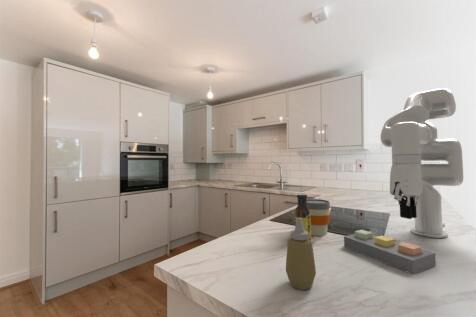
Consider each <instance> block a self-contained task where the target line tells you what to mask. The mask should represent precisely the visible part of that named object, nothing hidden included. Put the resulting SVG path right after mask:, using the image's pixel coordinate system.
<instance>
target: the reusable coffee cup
mask: <svg viewBox="0 0 476 317" xmlns="http://www.w3.org/2000/svg"><path fill="white" fill-rule="evenodd" d="M330 204H331V203H330V200H326V199H320V198H307V206H308V209H309V211H310V219H311V236H315V237H324V236H326V235H328V225H329V224H330V217H331V214H330V209H331V205H330Z"/></svg>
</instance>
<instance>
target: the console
mask: <svg viewBox="0 0 476 317" xmlns="http://www.w3.org/2000/svg"><path fill="white" fill-rule="evenodd" d="M378 236H379V235H375V234H373V238H372V239H368V240H363V239H360V238H357V237H355V233H353V234H349V235H344V236H343V247H344V248H347V249H349V250H351V251H354V252H356V253H359V254H361V255H364V256H367V257H370V258H372V259H374V260H376V261H379V262H382V263H384V264H387V265H389V266H392V267H393V268H397V269H399V270H402V271H404V272H407V273H409V274H412V275H414V274H415V275H416V274H418V273H420V272H423V271H426V270H429V269H431V268H434V267H436V265H437V264H436V252H432V251H429V250H426V249H423V248H421V249H422V254H419V255H416V256H412V255H409V254H406V253H403V252H400V251H398V244H402V243H403V242H399V241H396V240H395V245H394V246H391V247H384V246H381V245H378V244H375V243H374V237H378Z"/></svg>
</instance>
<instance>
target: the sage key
mask: <svg viewBox="0 0 476 317" xmlns="http://www.w3.org/2000/svg"><path fill="white" fill-rule="evenodd" d="M354 234H355V237H357V238H360V239H363V240H368V239H372V238H373V235H374V233H373V231H372V232H371V231H368V230H365V229H360V230H359V229H358V230H354Z"/></svg>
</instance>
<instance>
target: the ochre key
mask: <svg viewBox="0 0 476 317" xmlns="http://www.w3.org/2000/svg"><path fill="white" fill-rule="evenodd" d="M377 236H378V237H374V243H375V244H378V245H381V246H384V247H391V246H394V245H395V241H396V239H395V238H393V237H388V236H385V235H377Z"/></svg>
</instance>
